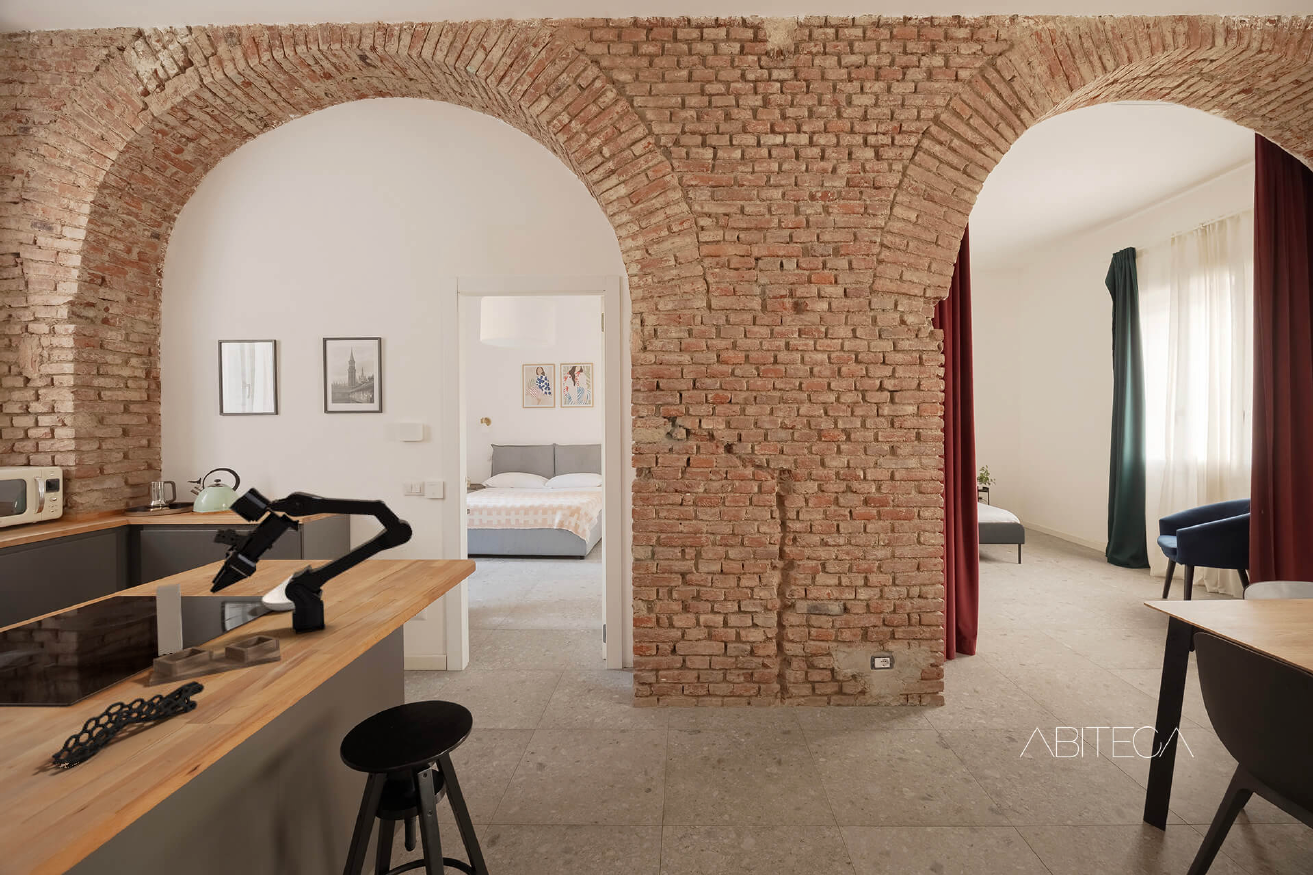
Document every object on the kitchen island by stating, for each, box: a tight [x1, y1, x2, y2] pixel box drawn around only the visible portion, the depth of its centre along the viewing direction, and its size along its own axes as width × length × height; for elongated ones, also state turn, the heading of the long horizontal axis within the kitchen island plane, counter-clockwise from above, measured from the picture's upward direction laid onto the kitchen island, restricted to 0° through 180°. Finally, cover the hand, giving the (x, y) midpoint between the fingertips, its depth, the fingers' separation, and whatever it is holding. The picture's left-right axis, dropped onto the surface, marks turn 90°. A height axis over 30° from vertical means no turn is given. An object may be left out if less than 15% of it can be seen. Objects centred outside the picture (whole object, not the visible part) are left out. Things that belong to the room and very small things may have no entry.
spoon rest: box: [261, 574, 294, 612], centre depth 175 cm, size 24×12×7 cm, turn 15°
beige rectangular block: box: [155, 583, 183, 657], centre depth 137 cm, size 4×3×15 cm
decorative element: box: [51, 680, 205, 768], centre depth 101 cm, size 22×5×6 cm, turn 169°
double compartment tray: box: [149, 634, 282, 687], centre depth 129 cm, size 22×10×4 cm, turn 124°
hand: (212, 587), depth 141 cm, fingers open, 9 cm apart
